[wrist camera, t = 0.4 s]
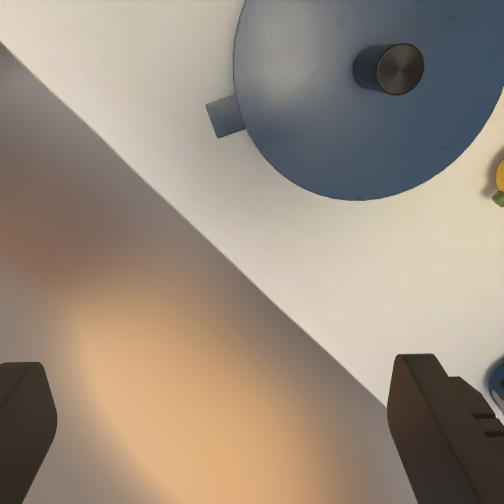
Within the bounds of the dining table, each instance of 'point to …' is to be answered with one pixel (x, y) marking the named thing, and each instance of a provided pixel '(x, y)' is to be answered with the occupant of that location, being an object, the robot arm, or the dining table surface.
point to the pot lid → (366, 88)
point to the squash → (500, 186)
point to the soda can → (497, 385)
